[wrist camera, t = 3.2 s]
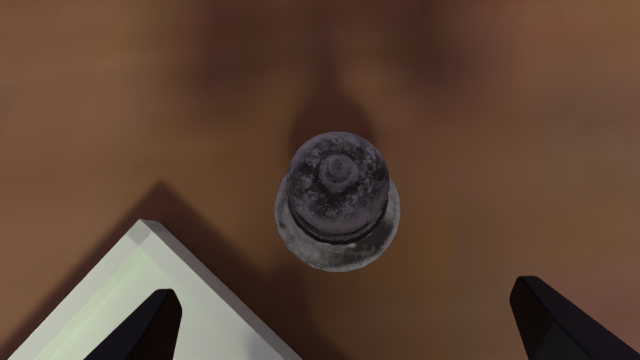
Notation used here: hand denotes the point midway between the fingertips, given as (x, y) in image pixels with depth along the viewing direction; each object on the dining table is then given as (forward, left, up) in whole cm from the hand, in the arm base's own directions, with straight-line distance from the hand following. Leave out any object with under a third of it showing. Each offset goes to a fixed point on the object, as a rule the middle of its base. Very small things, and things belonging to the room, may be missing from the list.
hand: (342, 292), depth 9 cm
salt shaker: (+2, -2, -10) cm, 11 cm away
